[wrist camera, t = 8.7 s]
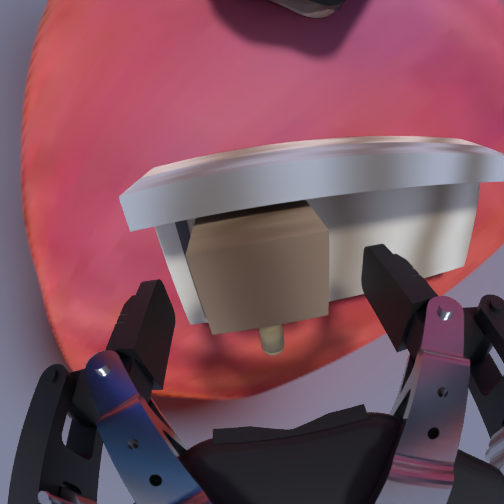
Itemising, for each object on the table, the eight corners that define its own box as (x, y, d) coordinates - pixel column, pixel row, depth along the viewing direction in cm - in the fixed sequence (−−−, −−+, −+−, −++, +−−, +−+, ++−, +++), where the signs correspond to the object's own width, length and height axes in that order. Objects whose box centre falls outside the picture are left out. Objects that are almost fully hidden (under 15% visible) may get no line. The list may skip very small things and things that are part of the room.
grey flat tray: (460, 139, 14) (512, 157, 10) (447, 251, 19) (484, 286, 15) (153, 167, 15) (118, 197, 10) (193, 301, 20) (186, 359, 15)
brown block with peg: (296, 189, 13) (328, 230, 9) (304, 303, 17) (325, 363, 13) (199, 205, 14) (185, 254, 9) (228, 316, 17) (229, 379, 13)
